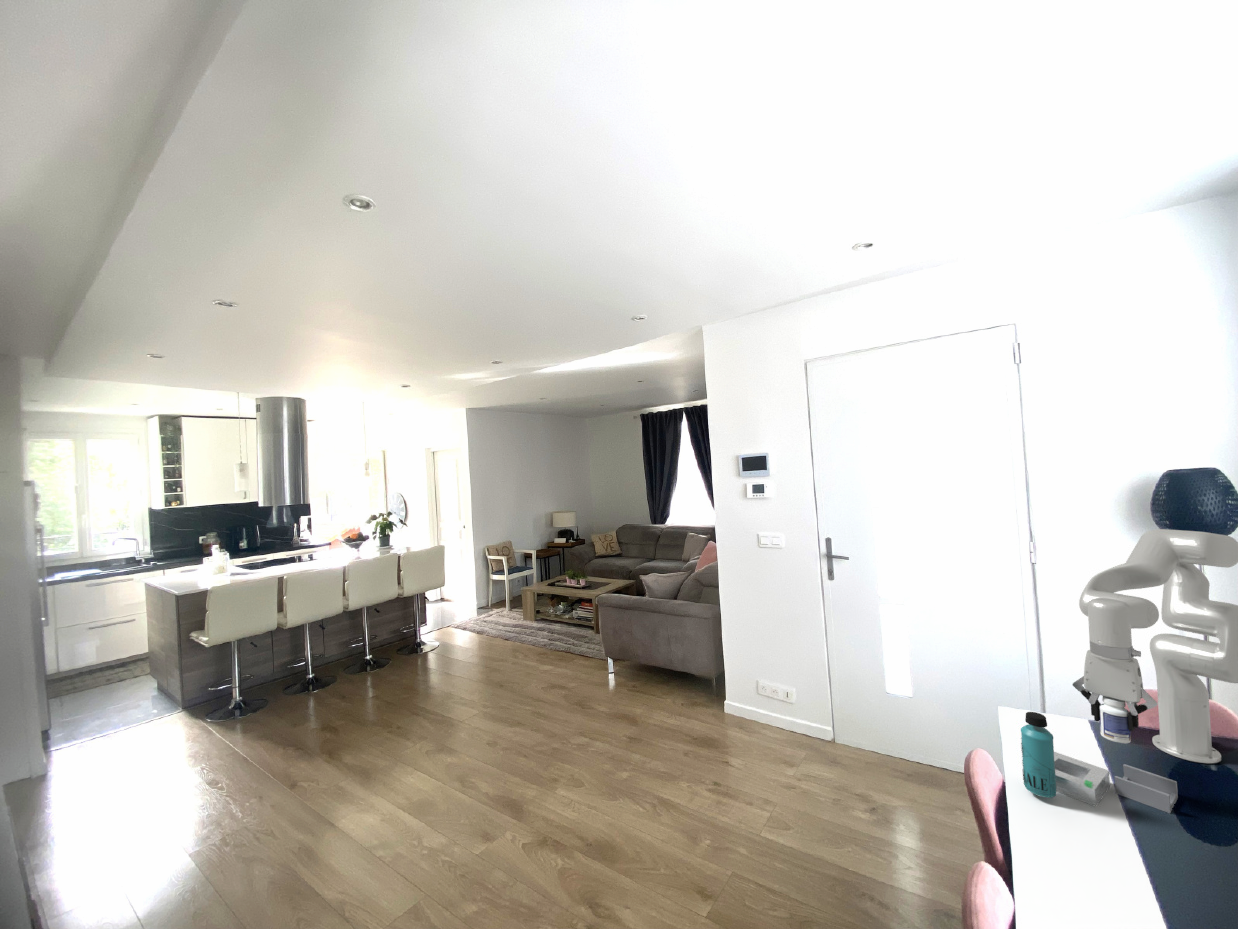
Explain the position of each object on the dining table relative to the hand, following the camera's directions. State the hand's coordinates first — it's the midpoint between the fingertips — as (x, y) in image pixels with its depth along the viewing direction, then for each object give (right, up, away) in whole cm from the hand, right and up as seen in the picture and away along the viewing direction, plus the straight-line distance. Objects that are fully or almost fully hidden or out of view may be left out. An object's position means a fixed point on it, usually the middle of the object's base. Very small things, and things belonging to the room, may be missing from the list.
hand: (1114, 723), depth 123 cm
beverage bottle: (-18, -18, 0) cm, 26 cm away
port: (-8, -17, +4) cm, 19 cm away
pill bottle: (0, -4, 0) cm, 4 cm away
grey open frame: (+6, -16, -2) cm, 18 cm away
